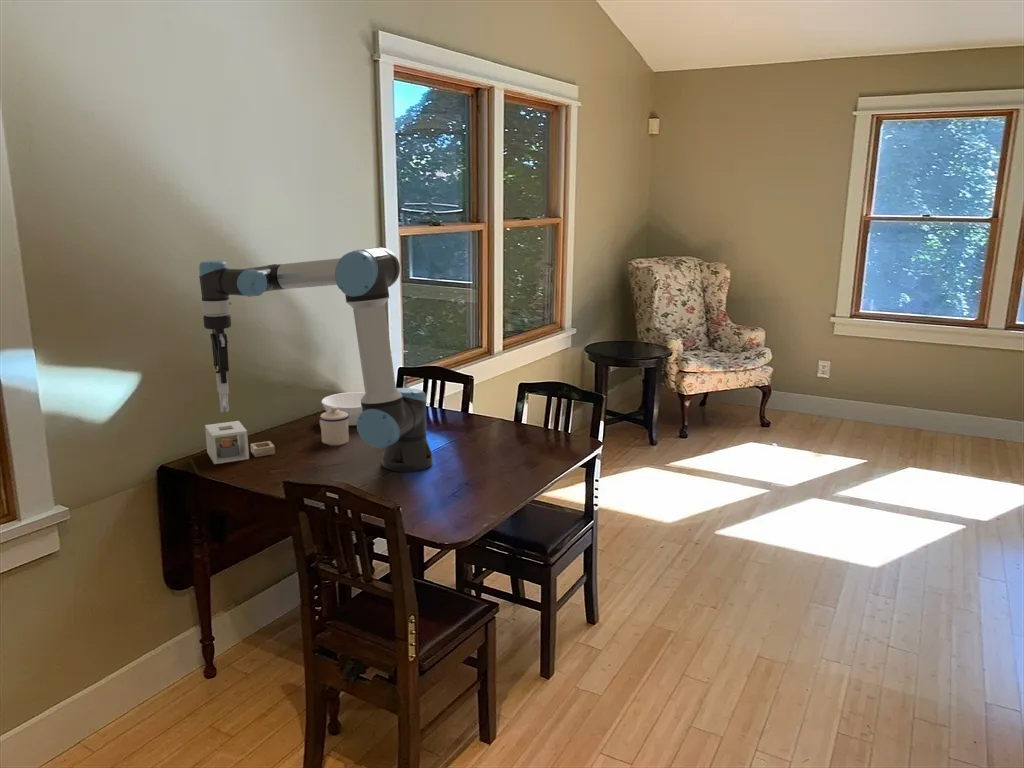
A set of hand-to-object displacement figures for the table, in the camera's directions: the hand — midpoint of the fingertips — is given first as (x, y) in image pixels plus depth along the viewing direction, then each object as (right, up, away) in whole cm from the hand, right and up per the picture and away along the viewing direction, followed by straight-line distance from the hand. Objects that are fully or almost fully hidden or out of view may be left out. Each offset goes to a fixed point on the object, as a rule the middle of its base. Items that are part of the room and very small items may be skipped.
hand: (223, 392), depth 236 cm
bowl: (+30, -11, +43) cm, 54 cm away
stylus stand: (+9, -19, +8) cm, 23 cm away
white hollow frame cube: (0, -20, +5) cm, 21 cm away
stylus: (0, -6, +1) cm, 6 cm away
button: (0, -18, +5) cm, 19 cm away
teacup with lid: (+28, -16, +22) cm, 39 cm away
